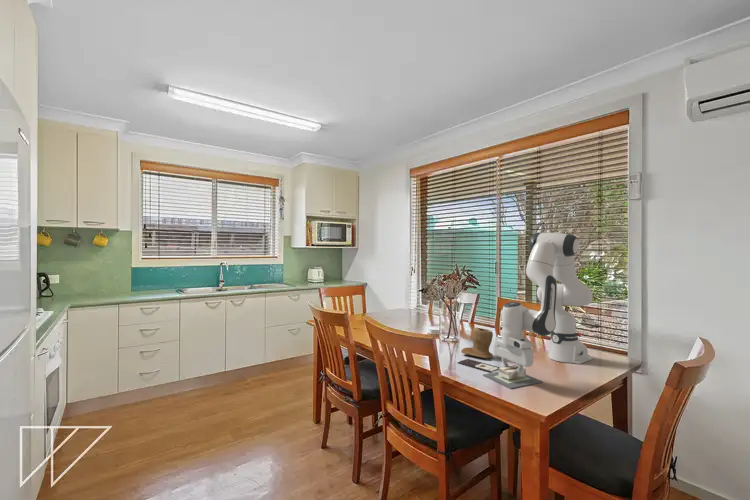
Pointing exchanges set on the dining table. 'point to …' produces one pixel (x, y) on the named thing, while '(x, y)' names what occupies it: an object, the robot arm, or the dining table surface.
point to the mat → (513, 380)
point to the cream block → (511, 372)
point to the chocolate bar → (478, 365)
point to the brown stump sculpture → (480, 343)
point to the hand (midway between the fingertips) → (512, 370)
